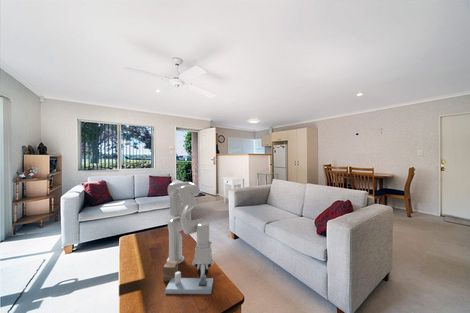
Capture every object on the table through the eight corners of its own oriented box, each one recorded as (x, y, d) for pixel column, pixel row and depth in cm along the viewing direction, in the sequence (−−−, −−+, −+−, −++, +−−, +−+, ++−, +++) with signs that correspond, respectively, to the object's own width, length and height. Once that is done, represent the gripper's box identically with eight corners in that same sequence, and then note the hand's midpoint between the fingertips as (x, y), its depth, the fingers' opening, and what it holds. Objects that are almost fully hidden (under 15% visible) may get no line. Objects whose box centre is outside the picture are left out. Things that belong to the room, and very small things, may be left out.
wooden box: (167, 274, 122) (167, 260, 122) (177, 274, 121) (177, 260, 122) (163, 281, 115) (163, 266, 115) (174, 281, 114) (174, 266, 115)
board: (171, 281, 114) (171, 268, 114) (213, 282, 114) (213, 268, 114) (165, 293, 104) (165, 278, 104) (210, 293, 104) (210, 278, 104)
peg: (200, 278, 110) (200, 261, 111) (206, 278, 110) (206, 261, 111) (199, 281, 107) (199, 264, 107) (205, 281, 107) (205, 264, 107)
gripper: (217, 241, 113) (217, 271, 113) (190, 241, 113) (190, 271, 113) (216, 246, 106) (216, 279, 105) (187, 246, 106) (187, 279, 105)
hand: (203, 274), depth 109 cm, fingers closed on peg, 3 cm apart
